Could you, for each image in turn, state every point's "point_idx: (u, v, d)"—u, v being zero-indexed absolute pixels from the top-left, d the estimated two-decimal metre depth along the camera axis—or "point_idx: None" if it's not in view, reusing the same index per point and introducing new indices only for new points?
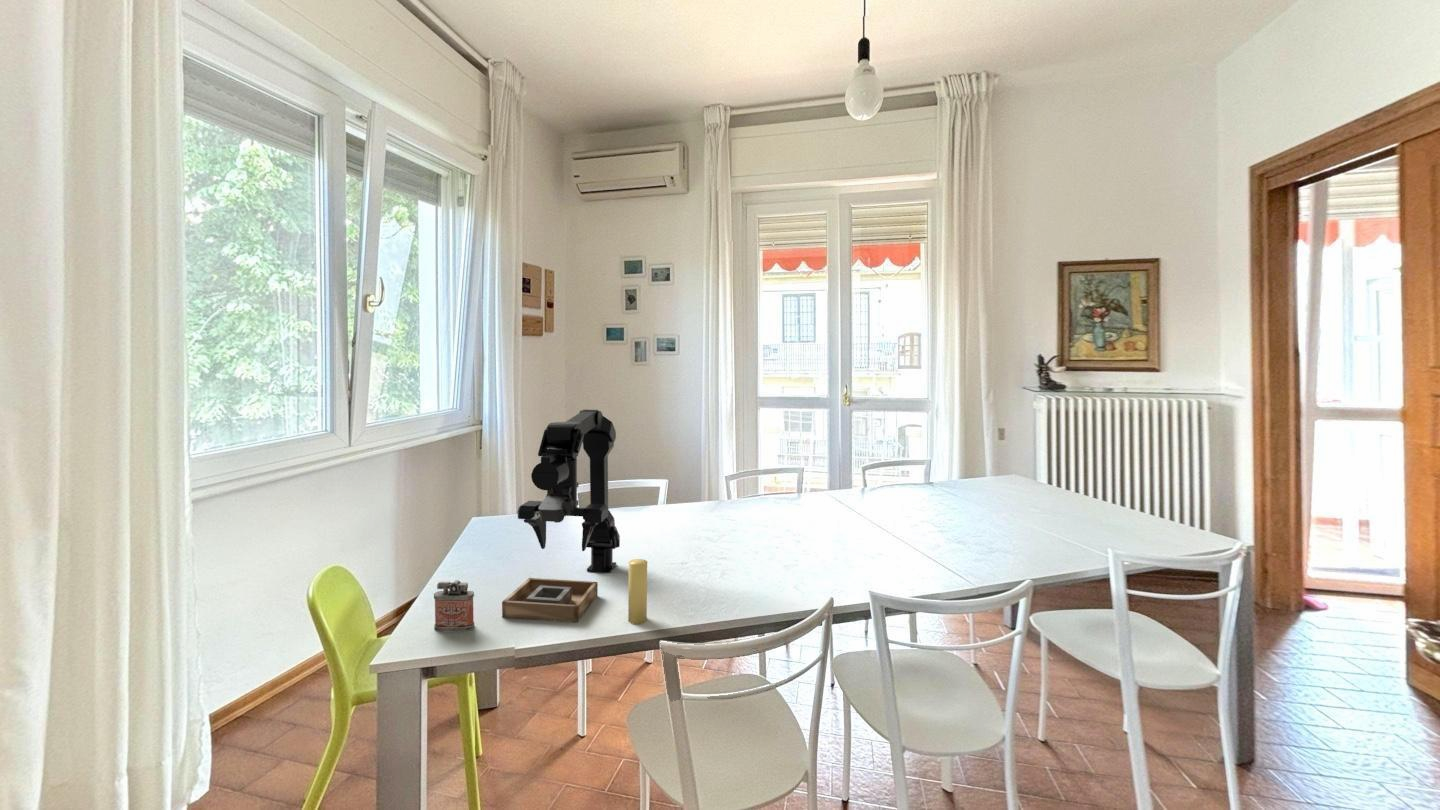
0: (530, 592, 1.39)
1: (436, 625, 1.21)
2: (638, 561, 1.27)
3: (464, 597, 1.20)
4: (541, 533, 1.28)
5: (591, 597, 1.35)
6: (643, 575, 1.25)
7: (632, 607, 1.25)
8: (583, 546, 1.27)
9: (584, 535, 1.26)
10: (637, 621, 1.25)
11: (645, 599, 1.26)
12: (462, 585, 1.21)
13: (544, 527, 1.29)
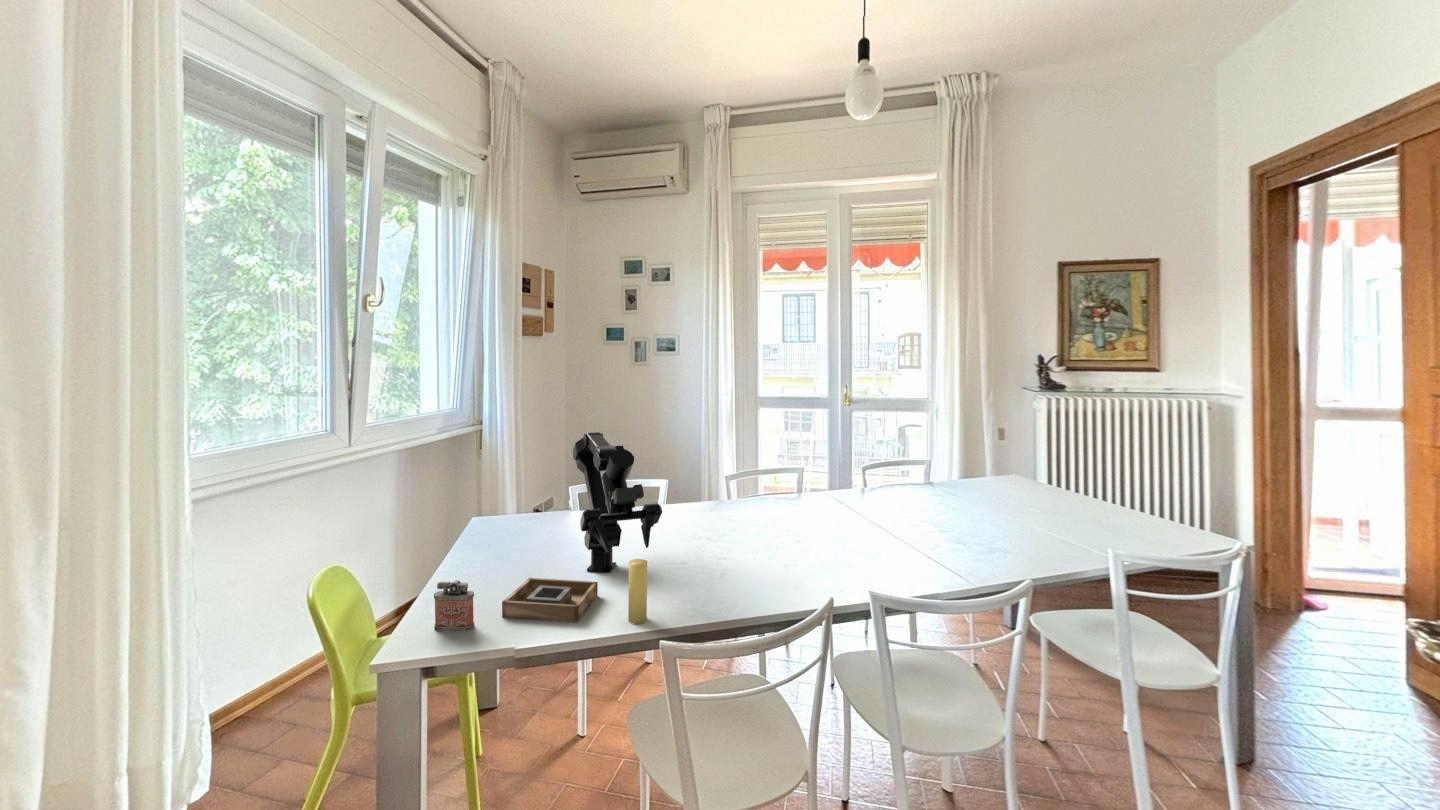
0: (530, 592, 1.39)
1: (436, 625, 1.21)
2: (638, 561, 1.27)
3: (464, 597, 1.20)
4: None
5: (591, 597, 1.35)
6: (643, 575, 1.25)
7: (632, 607, 1.25)
8: (647, 540, 1.35)
9: (647, 529, 1.37)
10: (637, 621, 1.25)
11: (645, 599, 1.26)
12: (462, 585, 1.21)
13: None
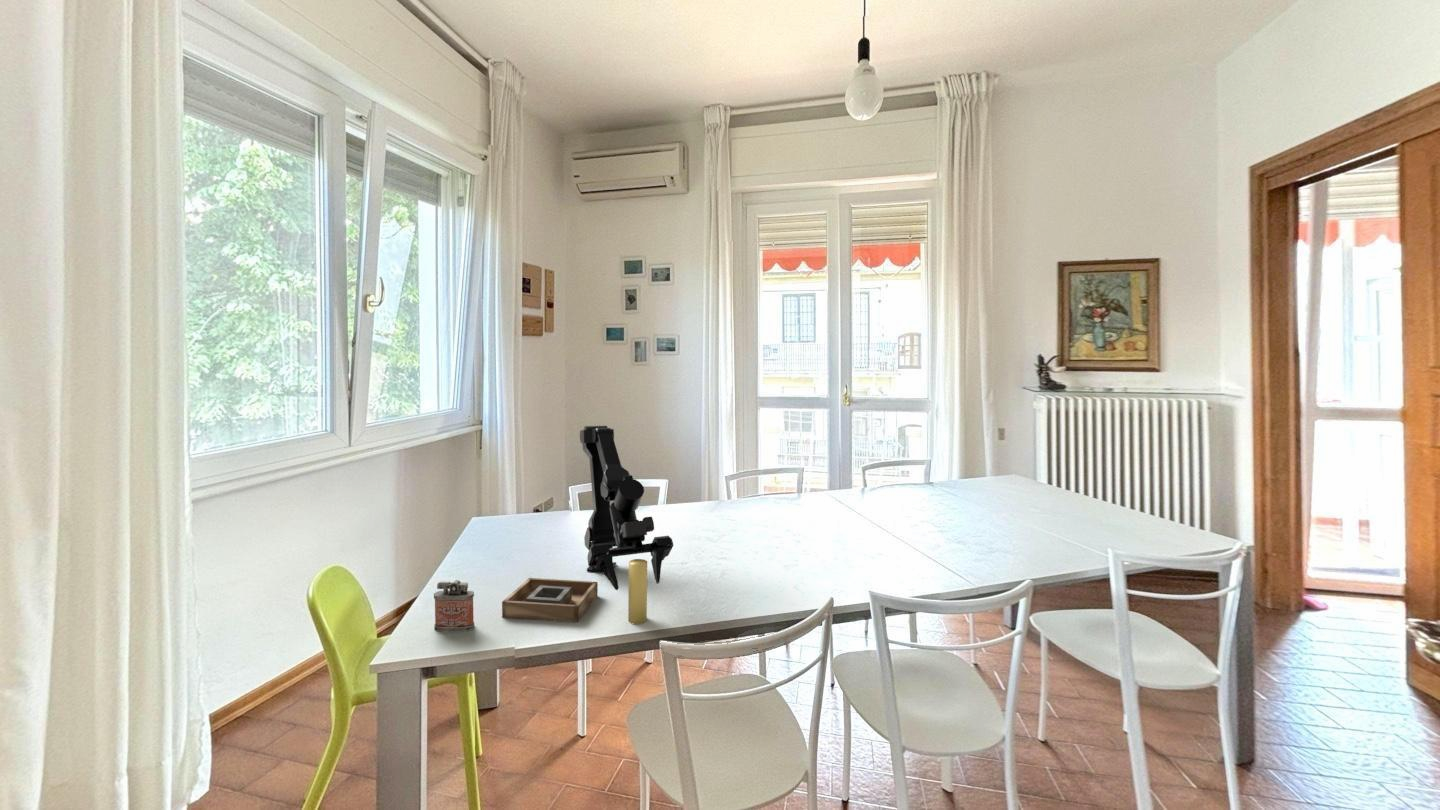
0: (530, 592, 1.39)
1: (436, 625, 1.21)
2: (638, 561, 1.27)
3: (464, 597, 1.20)
4: None
5: (591, 597, 1.35)
6: (643, 575, 1.25)
7: (632, 607, 1.25)
8: (658, 576, 1.28)
9: (658, 564, 1.30)
10: (637, 621, 1.25)
11: (645, 599, 1.26)
12: (462, 585, 1.21)
13: None
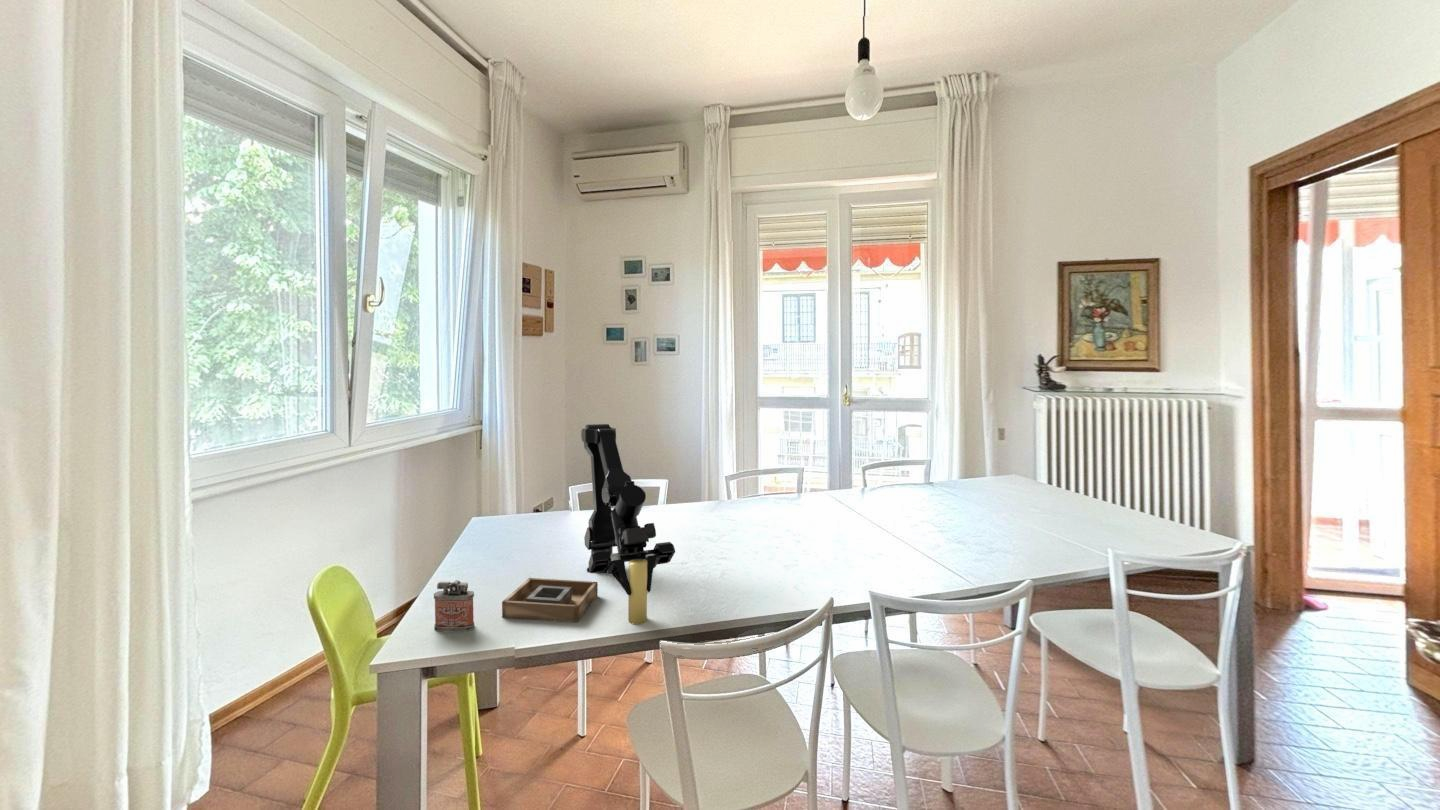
0: (530, 592, 1.39)
1: (436, 625, 1.21)
2: (638, 561, 1.27)
3: (464, 597, 1.20)
4: None
5: (591, 597, 1.35)
6: (643, 575, 1.25)
7: (632, 607, 1.25)
8: (649, 584, 1.26)
9: (649, 572, 1.28)
10: (637, 621, 1.25)
11: (645, 599, 1.26)
12: (462, 585, 1.21)
13: None
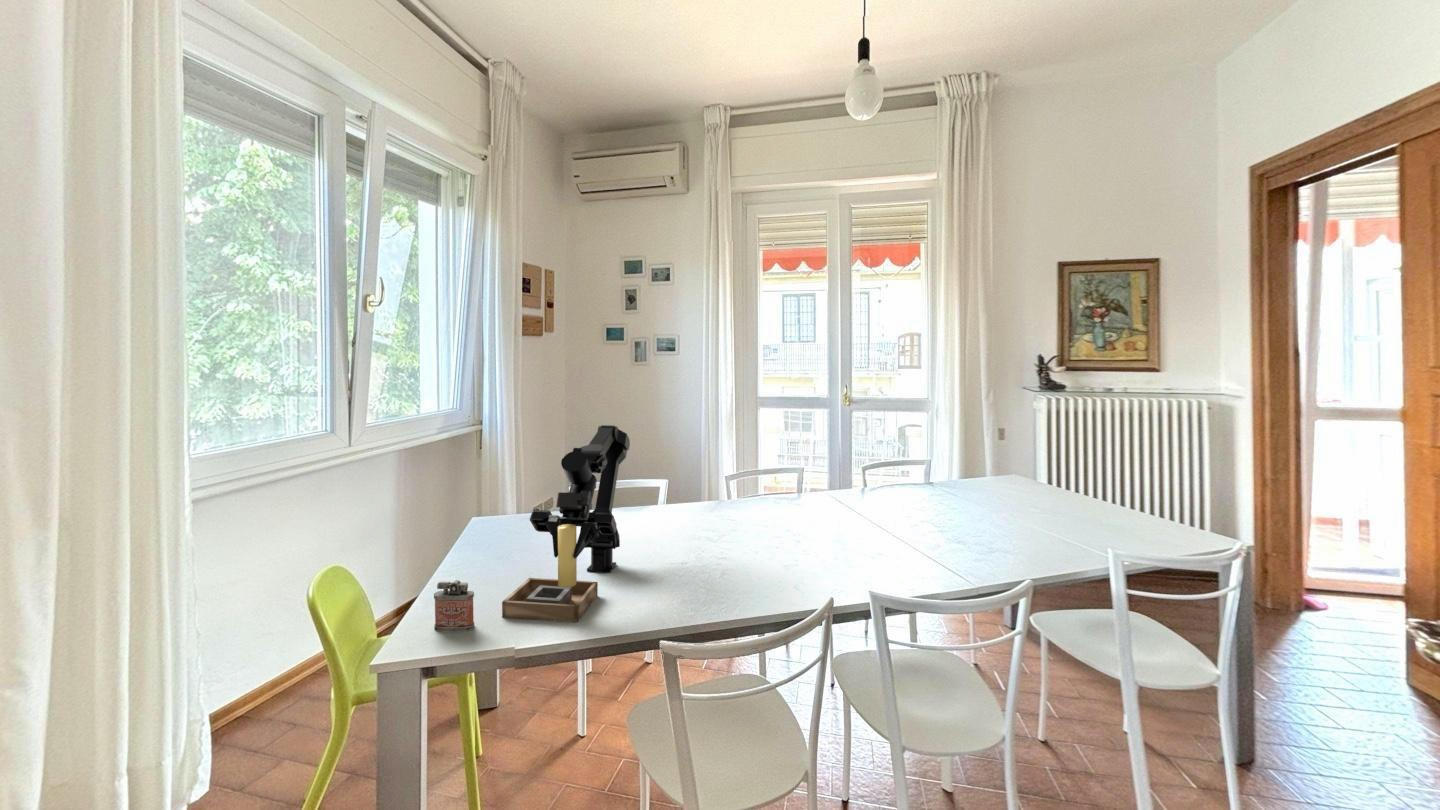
0: (530, 592, 1.39)
1: (436, 625, 1.21)
2: (569, 525, 1.28)
3: (464, 597, 1.20)
4: None
5: (591, 597, 1.35)
6: (567, 540, 1.26)
7: (558, 570, 1.27)
8: (576, 551, 1.27)
9: (580, 539, 1.28)
10: (562, 584, 1.27)
11: (570, 564, 1.27)
12: (462, 585, 1.21)
13: None
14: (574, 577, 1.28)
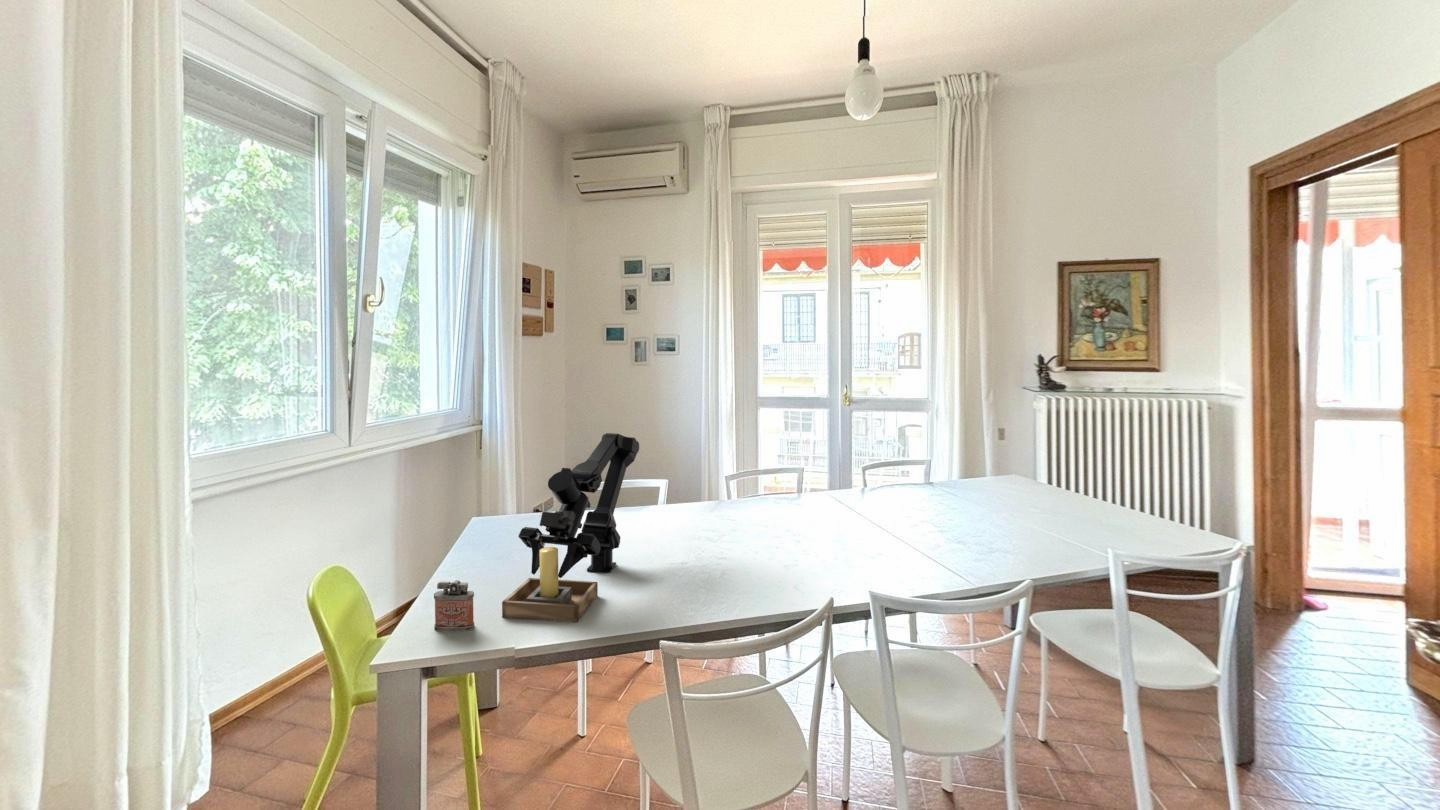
0: (530, 592, 1.39)
1: (436, 625, 1.21)
2: (551, 549, 1.31)
3: (464, 597, 1.20)
4: (537, 557, 1.32)
5: (591, 597, 1.35)
6: (546, 563, 1.28)
7: (540, 591, 1.30)
8: (561, 570, 1.29)
9: (566, 558, 1.30)
10: None
11: (550, 587, 1.29)
12: (462, 585, 1.21)
13: None
14: None
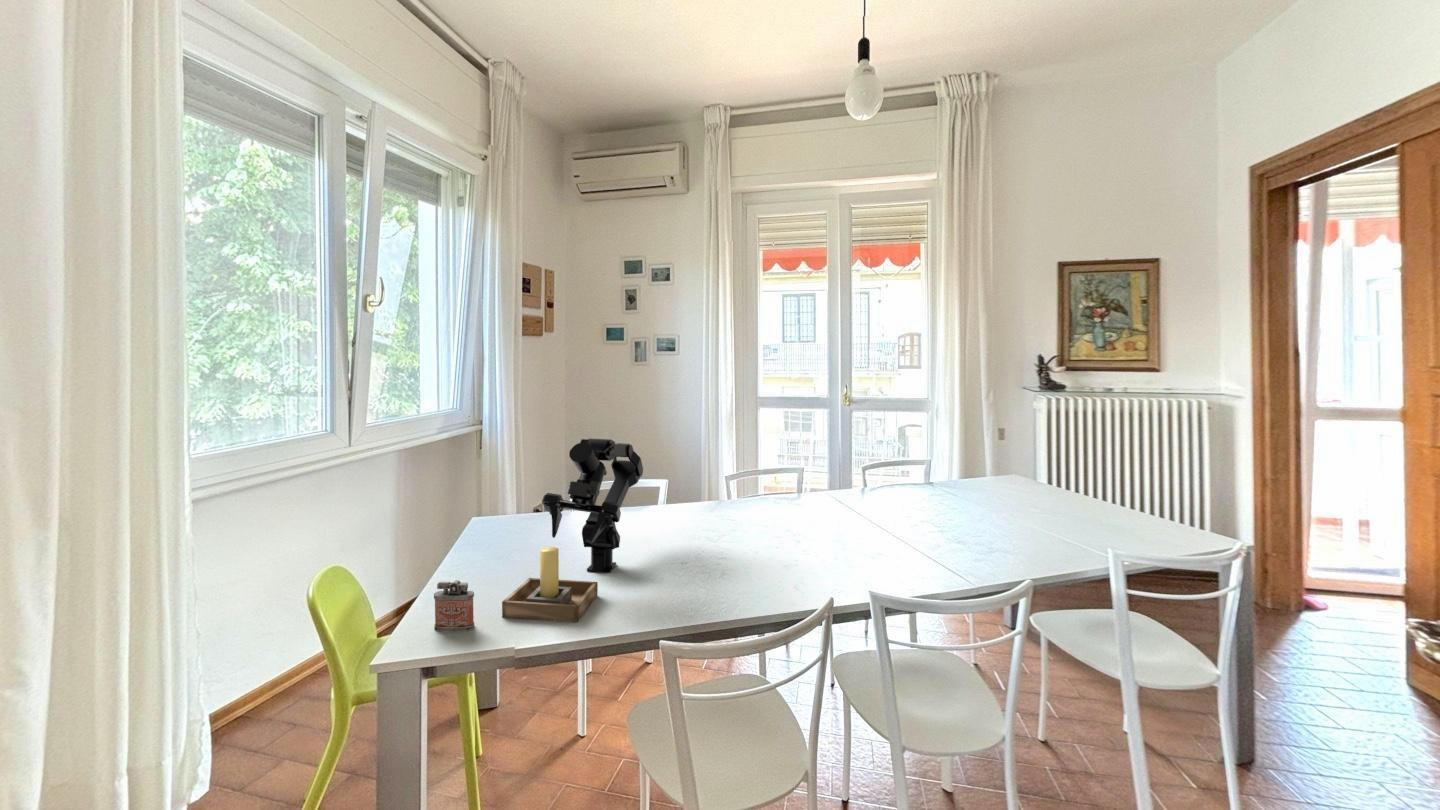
0: (530, 592, 1.39)
1: (436, 625, 1.21)
2: (552, 549, 1.31)
3: (464, 597, 1.20)
4: (556, 521, 1.40)
5: (591, 597, 1.35)
6: (547, 563, 1.29)
7: (540, 591, 1.30)
8: (592, 537, 1.38)
9: (596, 526, 1.40)
10: None
11: (551, 587, 1.29)
12: (462, 585, 1.21)
13: (559, 521, 1.42)
14: None
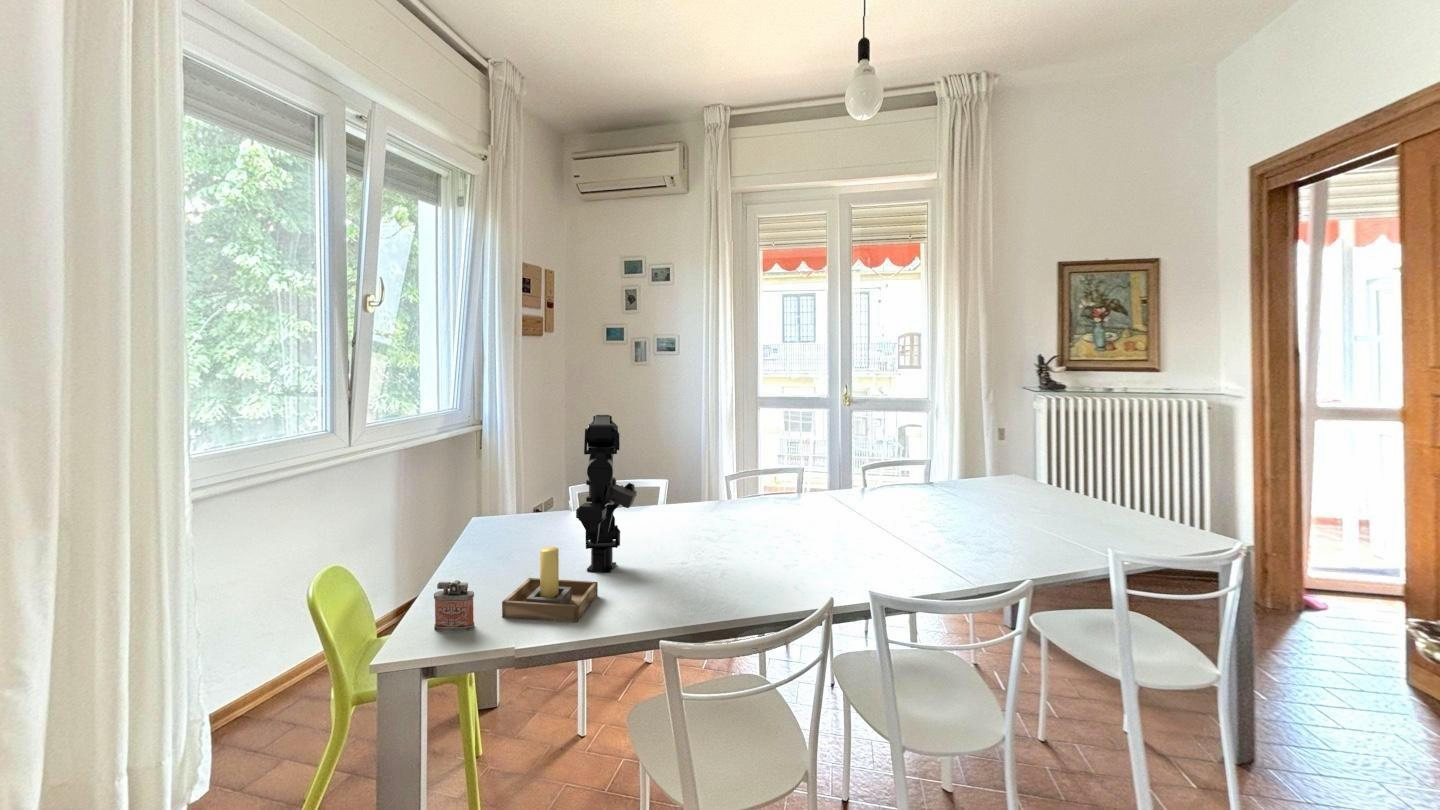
0: (530, 592, 1.39)
1: (436, 625, 1.21)
2: (552, 549, 1.31)
3: (464, 597, 1.20)
4: None
5: (591, 597, 1.35)
6: (547, 563, 1.29)
7: (540, 591, 1.30)
8: (609, 527, 1.47)
9: (611, 517, 1.47)
10: None
11: (551, 587, 1.29)
12: (462, 585, 1.21)
13: None
14: None
